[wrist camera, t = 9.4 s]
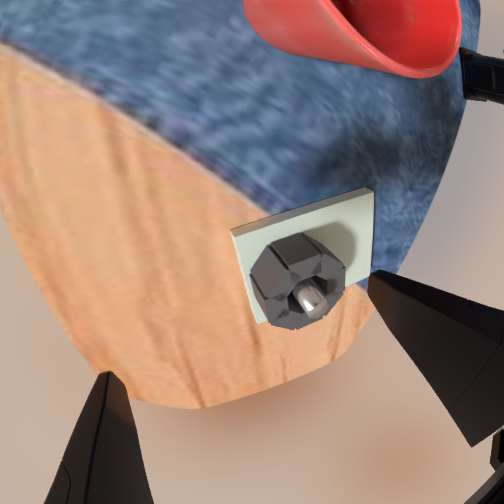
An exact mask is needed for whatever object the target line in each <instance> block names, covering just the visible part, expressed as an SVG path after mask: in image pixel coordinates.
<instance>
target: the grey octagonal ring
mask: <svg viewBox="0 0 504 504" xmlns="http://www.w3.org/2000/svg"><path fill="white" fill-rule="evenodd" d="M270 244H271V247H270V246H268V245H266V247H265V248H264V250H263V251H262V253H261V254H260V256H259V257H258V259H257V260H256V262H255V263H254V265H253V266H252V268H251V269H250V272H251V273H250V274H249V276H250V280H251V284H252V288H253V292H254V296H255V298H256V300H257V302H258V303H259V305H260V307H261V309H262V311H263V313H264V315H265V316H266V318H267V320H268V322H269V323H270V324H271V325H274V326H278V327H282V328H286V329H290V330H294V329H295V328H296V329H297V330H298V329H300V328H302V327H305V326H307V325H309V324H311V323H314V322H316V321H318V320H320V319H322V318H323V315H324V316H326V315H327V314H328V313H329V312H330V310H331V309H332V308H333V307H334V305H335V304H336V303H337V302H338V300H339V299H340V298H341V296H342V295H343V293H342V292H343V291H345V277H346V267H345V266H344V264H343V263H342V262H341V261H340V260H339V259H338V258H337V257H336V256H335V255H334V254H333V253H332V252H330V251H329V250H328V249H327V248H326V247H325V246H324V245H323V244H322V243H320V242H318V241H316V240H315V239H313V238H311V237H309V236H308V235H306V234H304V233H302V234H300V233H296V234H293V235H290V236H287V237H284V238H281V239H278V240H275V241H273V242H270ZM307 278H308V279H309V280H310V281H311V282H312V284H313V285H314V286H315V287H316V288H317V290H318V291H319V292H320V293H321V295H322V296H323V297H324V298H325V299H326V301H327V302H328V309H327V311H326V312H325V313H324V314H323V315H322V316H320V317H318V318H310V317H309V316H308V315H307V313H306V312H305V311H304V309H303V308H302V306H301V305H300V304H299V302H298V301H297V299H296V298H295V296H294V295H293V294H292V292H291V291H292V290H293V288H294V287H295V286H296V284H297V283H298V282H299V281H302V280H304V279H307Z"/></svg>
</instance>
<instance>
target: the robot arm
mask: <svg viewBox="0 0 504 504" xmlns="http://www.w3.org/2000/svg"><path fill="white" fill-rule="evenodd" d="M459 50H460V57H461V65H462V75H463V88H464V97H465V99H468V100H476V101H484V102H486V101H487V100H489V101H493V102H496V103H500V104H503V105H504V59H501V58H495V57H489V56H483V55H481V54H478V53H476V52H474V51H471V50H469V49H466V48H464V47H460V49H459ZM367 292H368V296H369V298H370V300H371V301H372V303H373V304H374V306H375V307H376V309H377V311H378V312H379V314H380V315H381V317H382V319H383V320H384V322H385V324H386V325H387V327H388V328H389V330H390V331H391V332H392V334H393V335H394V336H395V338H396V339H397V340H398V342H399V343H400V344H401V346H402V347H403V348H404V350H405V351H406V352H407V354H408V355H409V356H410V358H411V359H412V361H413V362H414V363H415V365H416V366H417V367H418V369H419V370H420V372H421V373H422V374H423V376H424V377H425V378H426V380H427V381H428V383H429V384H430V386H431V387H432V389H433V390H434V391H435V393H436V394H437V396H438V397H439V399H440V400H441V402H442V403H443V405H444V406H445V408H446V409H447V410H448V412H449V414H450V415H451V417H452V418H453V420H454V421H455V423H456V424H457V426H458V428H459V429H460V431H461V432H462V434H463V435H464V437H465V439H466V440H467V442H468V444H469V445H470V446H471V447H473V446H475V445H476V444H478V443H479V442H481V441H482V440H484V439H485V438H487V437H488V436H490V435H491V434H492V433H494V432H495V431H496V430H498V429H499V428H500V429H499V430H498V431H497V432H496V433H495V434H494V436H493V441H492V450H491V457H490V464H491V465H492V467H493V468H494V470H495V473H494V474H493V475H492V476H491V477H490V478H489V479H488V480H487V481H486V482H485V483H484V484H483V485H482V486H481V487H480V489H478V490H477V492H475V493H474V494H473V495H472V496H471V497H470V498H469V499H468V500H467V501H466V502H465V503H464V504H504V311H503V310H499V309H496V308H492V307H489V306H486V305H483V304H480V303H477V302H474V301H471V300H467V299H466V298H463V297H460V296H457V295H454V294H452V293H449V292H446V291H443V290H440V289H437V288H434V287H431V286H429V285H425V284H423V283H420V282H417V281H414V280H411V279H408V278H405V277H402V276H399V275H396V274H393V273H390V272H387V271H384V270H380V269H379V270H376V271H374V272H372V273H370V275H369V280H368V289H367ZM44 504H154V502H153V499H152V495H151V491H150V488H149V484H148V480H147V476H146V472H145V468H144V463H143V459H142V454H141V449H140V445H139V439H138V434H137V429H136V425H135V421H134V418H133V414H132V411H131V407H130V403H129V398H128V394H127V390H126V387H125V385H124V384H123V382H122V381H121V380H120V379H119V378H118V377H117V376H116V375H115V374H114V373H113V372H112V371H105V372H102V373H100V374H99V375H98V377H97V379H96V381H95V383H94V386H93V388H92V390H91V392H90V394H89V396H88V398H87V400H86V403H85V405H84V407H83V409H82V411H81V414H80V416H79V418H78V421H77V423H76V425H75V428H74V430H73V433H72V435H71V437H70V440H69V442H68V445H67V447H66V450H65V452H64V455H63V458H62V461H61V463H60V465H59V468H58V471H57V474H56V476H55V479H54V481H53V484H52V486H51V488H50V491H49V493H48V495H47V498H46V500H45V502H44Z"/></svg>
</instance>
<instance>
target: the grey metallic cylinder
mask: <svg viewBox="0 0 504 504" xmlns="http://www.w3.org/2000/svg"><path fill="white" fill-rule="evenodd" d="M291 292H292V294H293V295H294V296H295V298H296V299H297V301H298V302H299V304H300V305H301V306H302V308H303V309H304V311H305V312H306V313H307V315H308V316H309V317H310V318H318V317H320V316H322V315H323V314H324V313H325V312H326V311H327V309H328V302H327V301H326V299H325V298H324V297H323V296H322V295H321V293H320V292H319V291H318V290H317V288H316V287H315V286H314V285H313V284H312V282H311V281H310V280H309V279H308V278H307V279H304V280H302V281H299V282H298V283H297V284H296V286H295V287H294V288H293V290H292V291H291Z"/></svg>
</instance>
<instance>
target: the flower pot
mask: <svg viewBox="0 0 504 504" xmlns="http://www.w3.org/2000/svg"><path fill="white" fill-rule="evenodd" d="M243 7H244V11H245V14H246V17H247V19H248V21H249V23H250V24H251V26H252V27H253V29H254V30H255V31H256V32H257V33H258V34H259V35H260V36H261V38H263V39H264V40H265V41H266V42H268V43H269V44H271V45H272V46H274V47H276V48H278V49H280V50H282V51H284V52H287V53H290V54H294V55H299V56H306V57H312V58H317V59H323V60H328V61H334V62H340V63H346V64H351V65H356V66H361V67H366V68H370V69H375V70H379V71H383V72H388V73H392V74H396V75H401V76H405V77H410V78H417V79H422V78H430V77H434V76H437V75H439V74H440V73H442V72H443V71H445V70H446V69H447V68H448V67H449V66H450V64H451V63H452V62H453V60H454V58H455V57H456V54H457V52H458V49H459V46H460V40H461V33H462V18H461V11H460V6H459V2H458V0H243Z"/></svg>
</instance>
